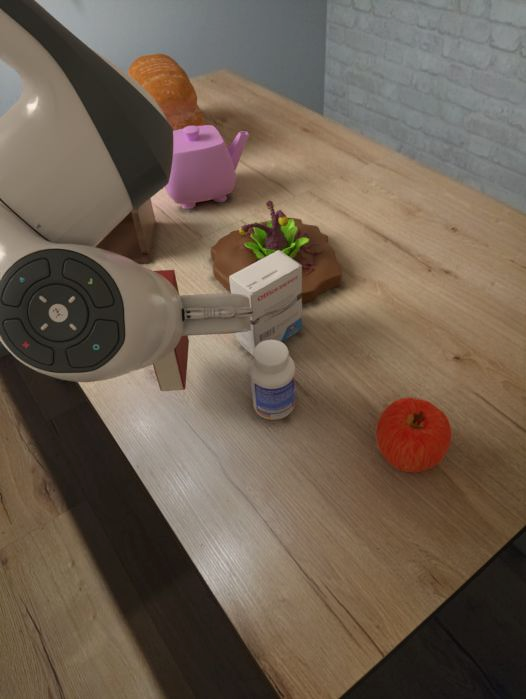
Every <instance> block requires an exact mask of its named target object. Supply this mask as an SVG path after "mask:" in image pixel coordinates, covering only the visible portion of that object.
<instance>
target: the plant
mask: <svg viewBox="0 0 526 699" xmlns="http://www.w3.org/2000/svg"><path fill="white" fill-rule="evenodd" d="M265 207H266V209H268V210H269V211H270V214H269V215H270V219H271V220H266V221H260V222H258V221H254V222H253V223H248V224H244V225H241V226H240V227H239V229H235V230H232V231H230V232H229V233H228V234H225V235H224V236H222V237H220V238H219V239H218V240H217V242H216V243H215V244H214V245H212V246H211V247H210V256H211V260H212V261H214V262H213V263H212V272H213V276H214V278H215V279H216V281H218V282H219V283H220V285H221V286H222V287H223V288H224V289H225V290H226V291H228V292H229V293H231V289H230V281H229V276H231V275H232V274H234V273H236V272H238V271H240V270H242V269H244V268H246V267H248V266H250V265H252V264H253V263H255V262H257V261H259V260H261V259H263V258H265V257H267V256H268V255H270V254H272V253H274V252H276V251H277V250H280V251H281V252H283V253H284V254H286V255H287V256H289V257H290V258H292V259H293V260H295V261H296V262H298V263H299V264H300V265H302V305H304V304H306V303H311V302H314V301H315V299H316V298H318V297H319V295H320V294H321V293H323V292H326V291H328V290H331V289H333V288H337V287H340V286H341V284H342V269H341V265H340V263H339V261H338V260H337V256H336V252H335V251H336V250H334V248H333V247H332V246H331V245H330V244H329V235H328V234H324V233H322V232H321V229H320V227H319V226H318V225H314V224H307V223H303V221H302V219H300V218H295V217H288V216H287V214H285V213H284V211H282V210H281V209H278V210H276V211H275V208H274V207H275V203H274V202H273V201H272V200H268V201H266V203H265Z"/></svg>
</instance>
